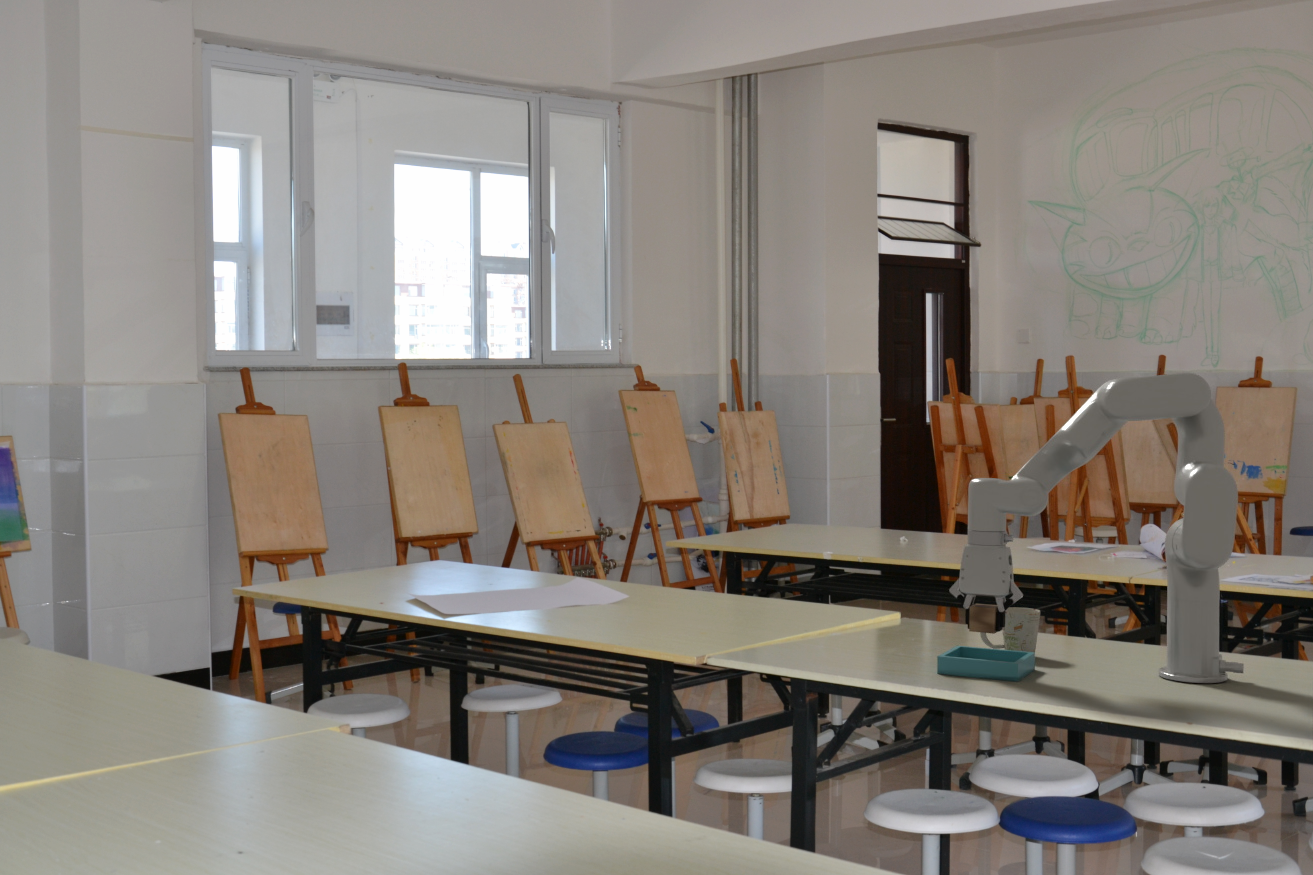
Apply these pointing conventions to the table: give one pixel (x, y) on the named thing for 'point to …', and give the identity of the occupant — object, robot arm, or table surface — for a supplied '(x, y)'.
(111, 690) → the table surface
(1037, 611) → the mug
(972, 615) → the block
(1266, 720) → the table surface
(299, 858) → the table surface
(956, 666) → the tray
